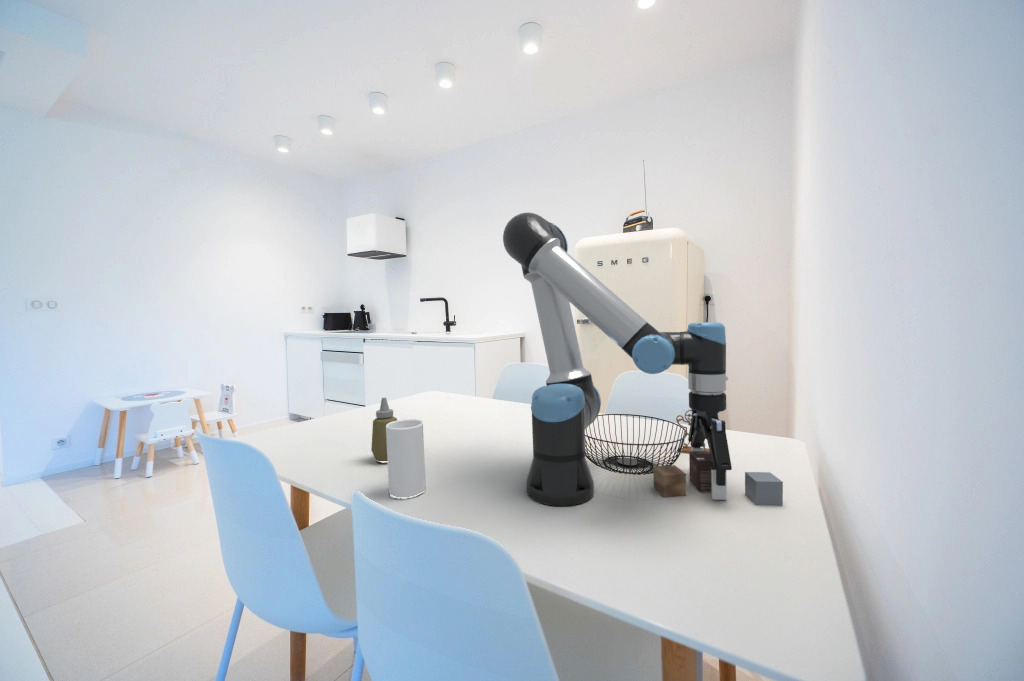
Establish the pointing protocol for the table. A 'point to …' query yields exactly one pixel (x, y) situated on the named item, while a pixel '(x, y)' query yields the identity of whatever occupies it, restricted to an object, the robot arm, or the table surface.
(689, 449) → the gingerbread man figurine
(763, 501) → the grey block
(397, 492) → the cup
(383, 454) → the squeeze bottle
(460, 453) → the table surface
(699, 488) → the box
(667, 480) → the walnut block
